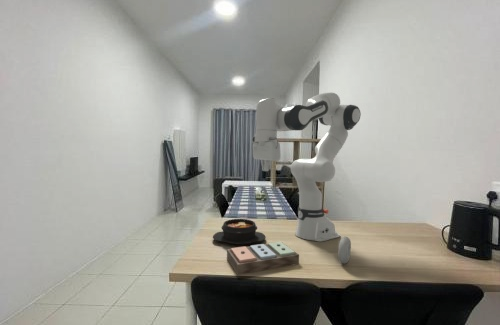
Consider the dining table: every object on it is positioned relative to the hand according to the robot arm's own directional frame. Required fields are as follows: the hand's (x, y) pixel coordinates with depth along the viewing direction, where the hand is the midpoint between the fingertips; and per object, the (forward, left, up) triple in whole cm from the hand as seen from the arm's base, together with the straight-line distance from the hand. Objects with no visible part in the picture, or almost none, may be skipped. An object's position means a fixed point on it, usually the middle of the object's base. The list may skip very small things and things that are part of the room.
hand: (265, 170), depth 101 cm
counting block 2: (+4, +8, -33) cm, 34 cm away
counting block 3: (-4, +9, -33) cm, 34 cm away
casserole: (+6, -15, -34) cm, 38 cm away
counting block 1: (+12, +8, -33) cm, 36 cm away
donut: (-25, +20, -34) cm, 47 cm away
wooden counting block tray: (+4, +8, -34) cm, 35 cm away
